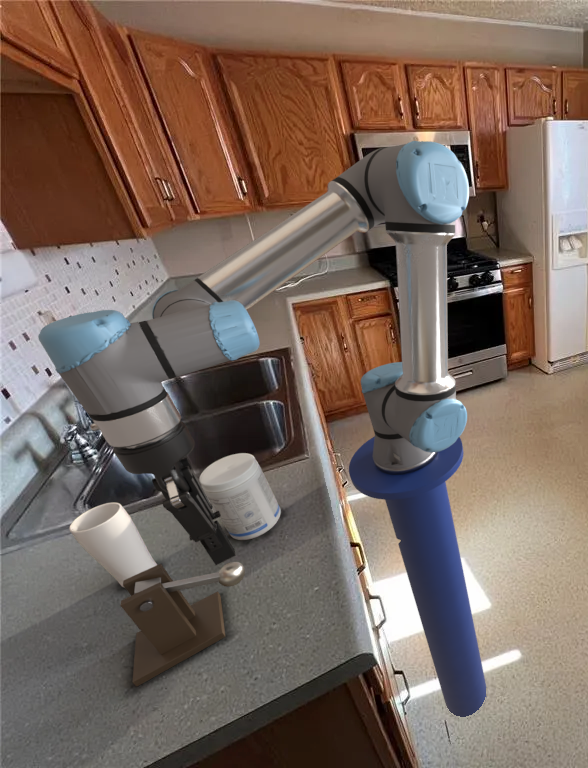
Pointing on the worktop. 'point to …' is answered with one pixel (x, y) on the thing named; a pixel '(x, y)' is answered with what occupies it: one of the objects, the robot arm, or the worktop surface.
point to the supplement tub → (241, 495)
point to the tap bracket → (168, 624)
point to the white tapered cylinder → (112, 541)
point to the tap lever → (200, 579)
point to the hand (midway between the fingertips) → (225, 557)
